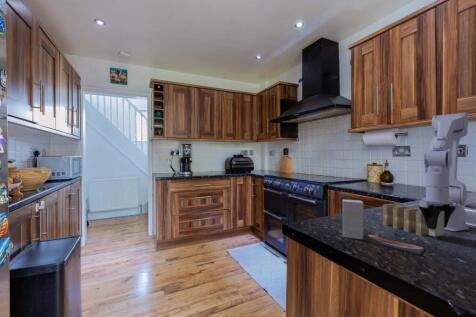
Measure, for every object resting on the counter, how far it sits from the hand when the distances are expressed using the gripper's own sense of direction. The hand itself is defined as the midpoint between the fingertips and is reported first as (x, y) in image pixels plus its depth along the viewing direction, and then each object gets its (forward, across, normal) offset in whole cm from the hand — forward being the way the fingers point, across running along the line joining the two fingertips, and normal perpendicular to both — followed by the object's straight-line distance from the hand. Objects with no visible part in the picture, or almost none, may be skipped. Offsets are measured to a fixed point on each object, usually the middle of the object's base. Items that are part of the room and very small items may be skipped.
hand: (436, 227), depth 74 cm
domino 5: (+2, 0, 0) cm, 2 cm away
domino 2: (+3, 0, -12) cm, 12 cm away
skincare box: (+4, +26, -10) cm, 28 cm away
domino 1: (+3, 0, -16) cm, 16 cm away
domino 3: (+3, 0, -8) cm, 9 cm away
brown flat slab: (+4, +20, -1) cm, 20 cm away
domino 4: (+3, 0, -4) cm, 5 cm away
